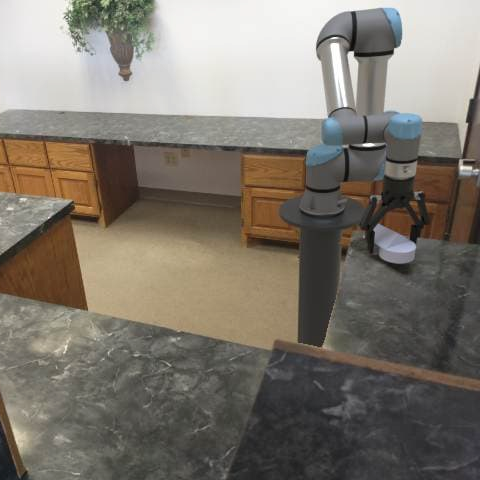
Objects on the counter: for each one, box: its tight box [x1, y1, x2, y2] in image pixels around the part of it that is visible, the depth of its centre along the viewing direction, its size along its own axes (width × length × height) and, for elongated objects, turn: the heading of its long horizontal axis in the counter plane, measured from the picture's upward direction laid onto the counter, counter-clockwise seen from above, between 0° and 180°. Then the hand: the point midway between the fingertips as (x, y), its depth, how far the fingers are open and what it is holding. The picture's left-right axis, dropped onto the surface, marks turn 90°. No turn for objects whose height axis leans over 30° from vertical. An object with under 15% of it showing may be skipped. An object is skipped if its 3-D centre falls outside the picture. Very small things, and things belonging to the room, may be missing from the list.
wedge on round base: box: [362, 223, 417, 265], centre depth 141 cm, size 9×7×13 cm
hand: (390, 249), depth 142 cm, fingers closed on wedge on round base, 11 cm apart
